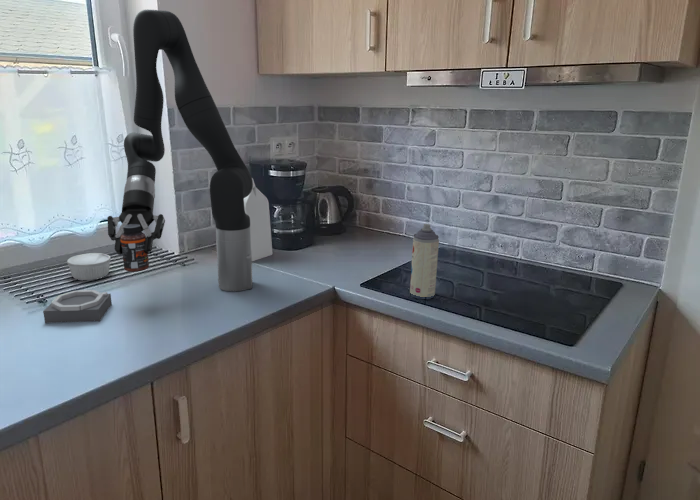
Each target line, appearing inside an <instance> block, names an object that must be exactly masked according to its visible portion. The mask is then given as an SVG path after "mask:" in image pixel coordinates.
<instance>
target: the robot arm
mask: <svg viewBox="0 0 700 500" xmlns="http://www.w3.org/2000/svg"><path fill="white" fill-rule="evenodd" d="M132 31H133V32H132V33H133V35H132V36H133V49H134V65H135V66H134V67H135V79H136V80H135V81H136V86H135V87H136V88H135V99H134V100H135V101H134V112H133V123H134V124H135V126H137V127H139V128H141V129H143V130H146V131H148V132H150V134H151V135H149V134H144V133H138V132H130V133H128V134H127V135H126V136H125V138H124V139H123V148H124V153H125V158H126V162H127V174H126V182H125V185H124V189H123V196H122V197H123V199H122V206H121V213H120V214H119V216H115V217H113V216H112V215H108V216H107V235H108V237H109V239H110V240H111V241H113V242H114V251H115V252H116V253H117V255H119V256H121V255H122V247H121V236H122V235H123V233H124V231H123V226H125V225H129V224H139V225H140V227H141V231H142V232H144V234H145V236H146V237H145V246H144V251H145V253H146V254H148V255H149V254H150V252H152V250H153V242H154V240H156V239H157V240H160V239H161V238H162V235H163V230H164V227H165V223H166V220H165V217H164V215H163V214H161V213H160V214H157V215H154V206H155V198H156V186H155V183H156V182H155V181H156V173H157V171H156V167H155V165H154V164H153V163H152V162H156V163H157V162H159V161H161V160H162V159H163V158H164V155H165V151H166V149H165V143H164V138H163V133H162V130H163V129H162V122H163V121H162V119H163V118H162V117H163V112H164V111H163V110H164V102H165V101H164V92H163V89H162V88H163V87H162V86H161V82H160V79H159V76H158V70H157V61H158V57H159V56H158V55H159V52H160V51H161V50H162V51H163V52H164V54H165V55H166V57H167V59H168V62H169V63H170V66H171V67H172V70H173V71H172V72H173V75H174V100H175V104H176V105H175V106H176V107H177V109H178V112H179V114H180V116H181V118H182V120H183V122H184V124H185V126H186V128H187V129H188V131H189V132H190V134H191V135H192V136H193V137H194V138H195V139H196V140H197V142H199V143H200V144H201V146H203V148H204V149H205V151H207V153H208V154H209V156H210V157H211V159H212V162H213V163H214V165H215V168H216V170H217V171H215V172H214V173H213V174H212V176H211V179H210V182H209V198H210V206H211V207H210V209H211V215H212V218H213V220H214V225H215V241H216V243H215V244H216V259H217V260H216V262H217V281H218V288H219V289H220V290H221V291H226V292H242V291H245V290H249V289H250V290H251V289H252V288H253V261H252V251H251V234H250V217H249V216H248V215H247V214H246V213H245V210H244V198H245V197H247V196H248V195H249V194H250V193H251V191H252V188H253V181H252V178H253V177H252V174H251V173H250V171H249V169H248V167H247V165H246V164H245V163H244V161H243V159H242V157H241V156H240V154H239V152H238V150H237V149H236V147H235V145H234V143H233V141H232V138H231V136H230V134H229V131H228V130H227V127H226V125H225V123H224V121H223V118H222V116H221V113H220V111H219V109H218V107H217V105H216V103H215V100H214V99H213V96H212V94H211V92H210V90H209V88H208V86H207V83H206V82H205V79H204V77H203V75H202V71H201V70H200V68H199V66H198V64H197V63H198V62H196V59H195V55H194V53H193V51H192V48H191V45H190V42H189V39H188V36H187V33H186V31H185V28H184V26H183V23H182V22H181V20H180V19H179V17H178V16H177V15H176V14H175V13H174V12H172V11H168V10H162V9H142V10H140V11H138V12H137V14H136V15H135V17H134V20H133V27H132ZM159 50H160V51H159ZM120 222H121V225H120V226H119V227H118V231H117V229H116V227H117V226H118V225H119V223H120ZM153 222H154V223H155V227H154V230H153V232H151V230H150V228H149V226H150V225H152V223H153ZM122 256H123V255H122Z"/></svg>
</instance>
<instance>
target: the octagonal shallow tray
mask: <svg viewBox="0 0 700 500" xmlns="http://www.w3.org/2000/svg"><path fill="white" fill-rule="evenodd" d="M112 305H113V304H112V295H111V293H108V292H106V291H103V292H100V291H98V290H95V289H86V290H85V289H81V290H80V289H78V290H72V291H69V292H66V293H63V294H59V295H57V296H56V297H54V299H53V300H52V301H51V302H50V304H49V305H48V306H47V307H46V308H45V309H44V310H43V312H42V313H43V318H44V324H56V323H57V324H58V323H59V324H60V323H61V324H62V323H84V322H86V323H87V322H101V320H102V319H103V318H104V316H105V315H106V313H107V312H108V310H109V309H110V308H111V306H112Z"/></svg>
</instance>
